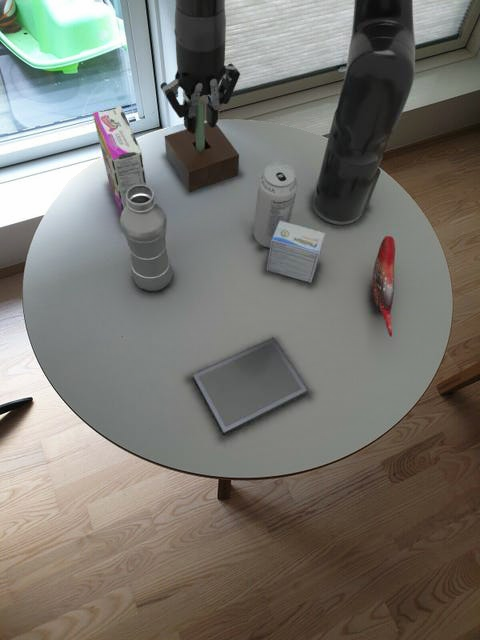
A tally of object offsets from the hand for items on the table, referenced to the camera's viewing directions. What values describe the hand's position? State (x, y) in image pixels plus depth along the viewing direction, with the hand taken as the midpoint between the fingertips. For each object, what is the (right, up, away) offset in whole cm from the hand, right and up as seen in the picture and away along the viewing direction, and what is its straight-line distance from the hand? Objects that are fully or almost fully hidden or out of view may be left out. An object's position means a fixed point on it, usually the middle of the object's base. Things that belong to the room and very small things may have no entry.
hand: (201, 127), depth 96 cm
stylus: (-1, -4, +8) cm, 9 cm away
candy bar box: (-13, -13, +2) cm, 19 cm away
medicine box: (+16, -25, -3) cm, 30 cm away
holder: (0, -5, +8) cm, 9 cm away
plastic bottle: (-8, -27, -6) cm, 29 cm away
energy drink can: (+12, -19, 0) cm, 23 cm away
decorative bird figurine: (+29, -32, -6) cm, 44 cm away
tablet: (+8, -44, -15) cm, 47 cm away
